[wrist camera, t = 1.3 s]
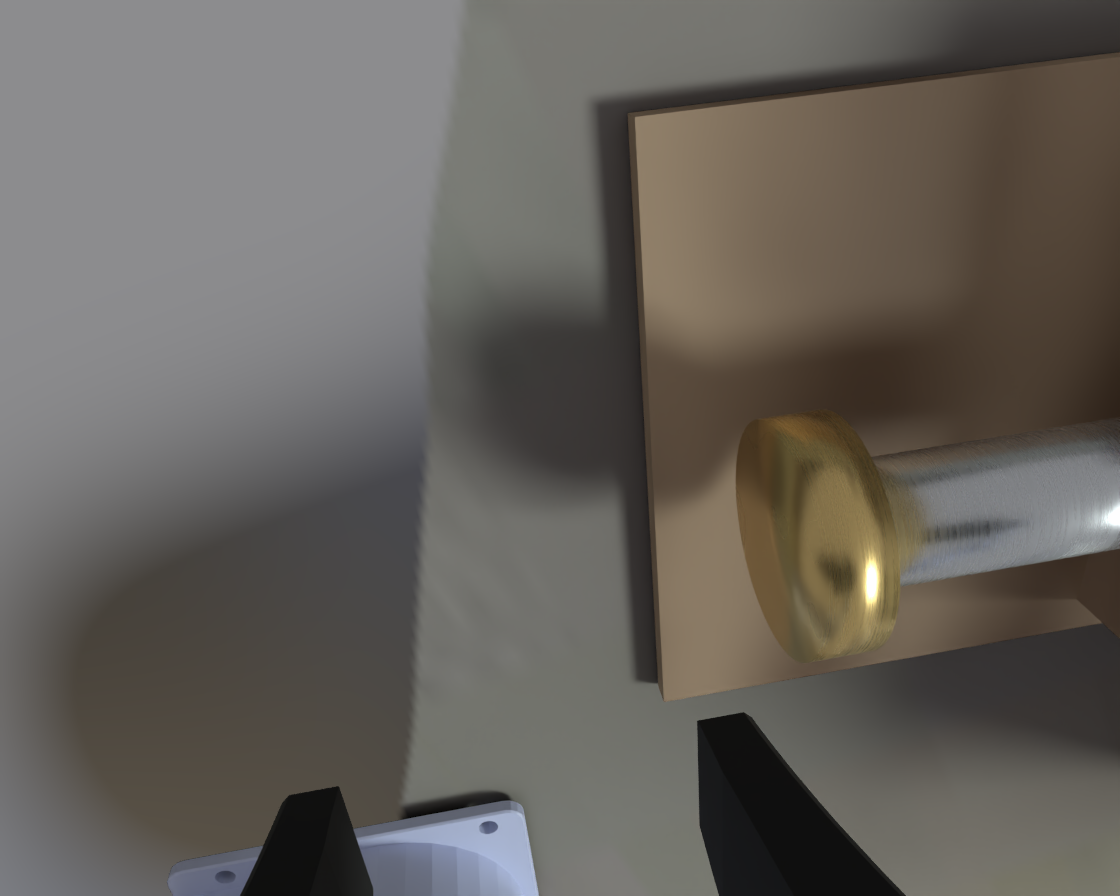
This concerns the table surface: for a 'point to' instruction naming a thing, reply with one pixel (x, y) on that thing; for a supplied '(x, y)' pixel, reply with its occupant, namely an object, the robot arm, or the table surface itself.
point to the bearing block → (871, 324)
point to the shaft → (907, 518)
